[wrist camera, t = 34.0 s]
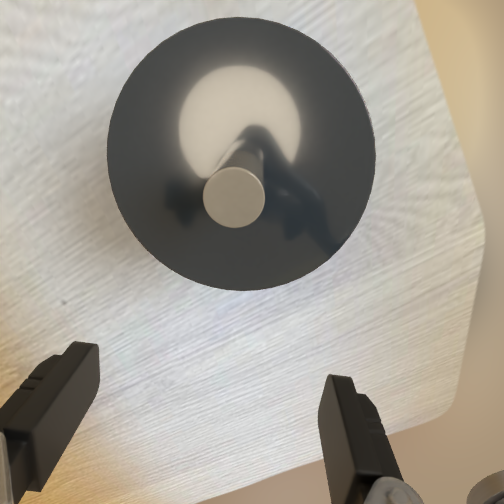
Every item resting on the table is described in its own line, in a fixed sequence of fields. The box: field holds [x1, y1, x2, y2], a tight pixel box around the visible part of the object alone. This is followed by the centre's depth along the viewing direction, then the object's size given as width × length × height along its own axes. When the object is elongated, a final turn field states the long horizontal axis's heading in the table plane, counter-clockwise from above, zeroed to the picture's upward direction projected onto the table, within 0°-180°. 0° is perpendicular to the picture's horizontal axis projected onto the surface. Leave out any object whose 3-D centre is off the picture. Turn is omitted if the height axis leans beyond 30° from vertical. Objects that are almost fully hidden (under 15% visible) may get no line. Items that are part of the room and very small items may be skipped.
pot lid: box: [107, 17, 376, 291], centre depth 16 cm, size 14×14×6 cm
